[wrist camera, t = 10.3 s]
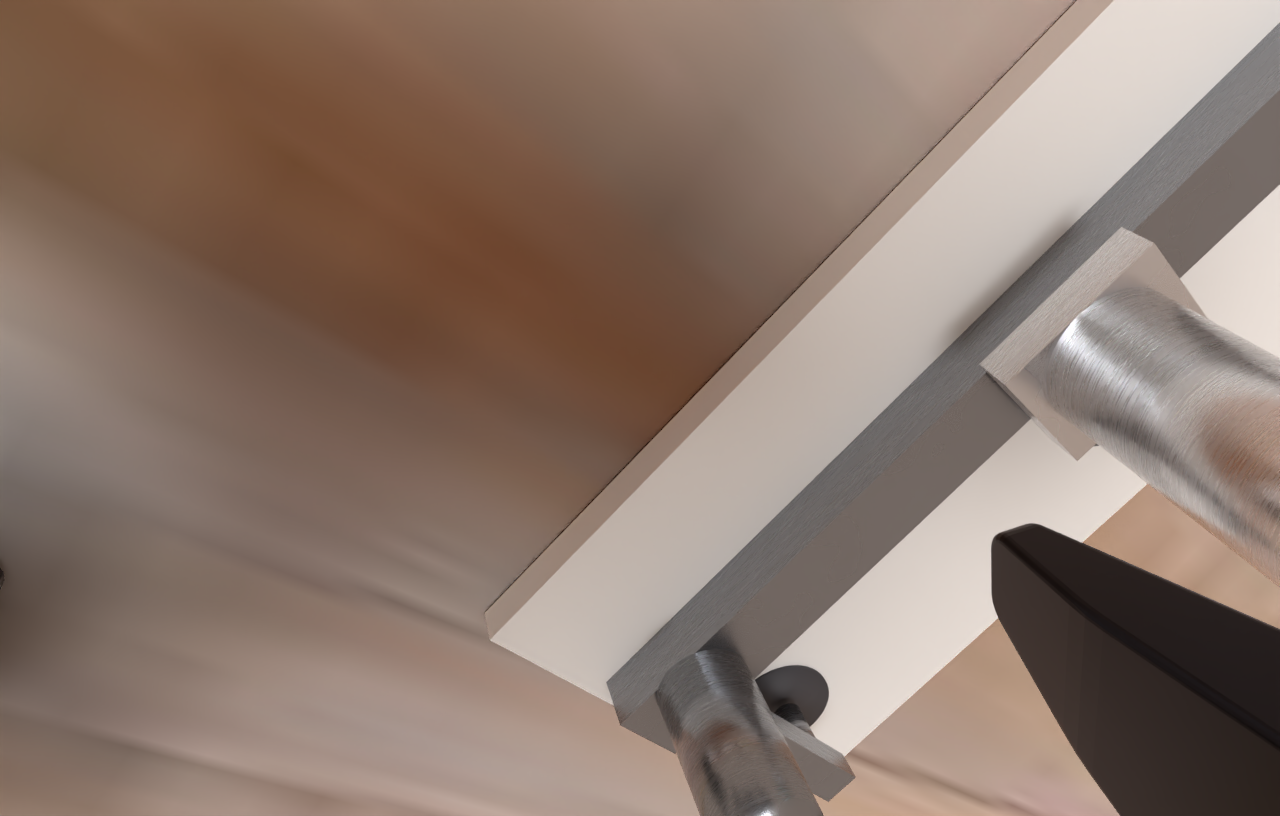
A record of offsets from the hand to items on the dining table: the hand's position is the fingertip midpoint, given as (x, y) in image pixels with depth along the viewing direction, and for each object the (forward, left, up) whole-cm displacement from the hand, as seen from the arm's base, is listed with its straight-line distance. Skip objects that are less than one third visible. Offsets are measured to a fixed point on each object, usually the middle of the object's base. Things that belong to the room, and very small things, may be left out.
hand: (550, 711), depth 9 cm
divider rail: (+6, -13, -12) cm, 19 cm away
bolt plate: (+6, -13, -13) cm, 20 cm away
